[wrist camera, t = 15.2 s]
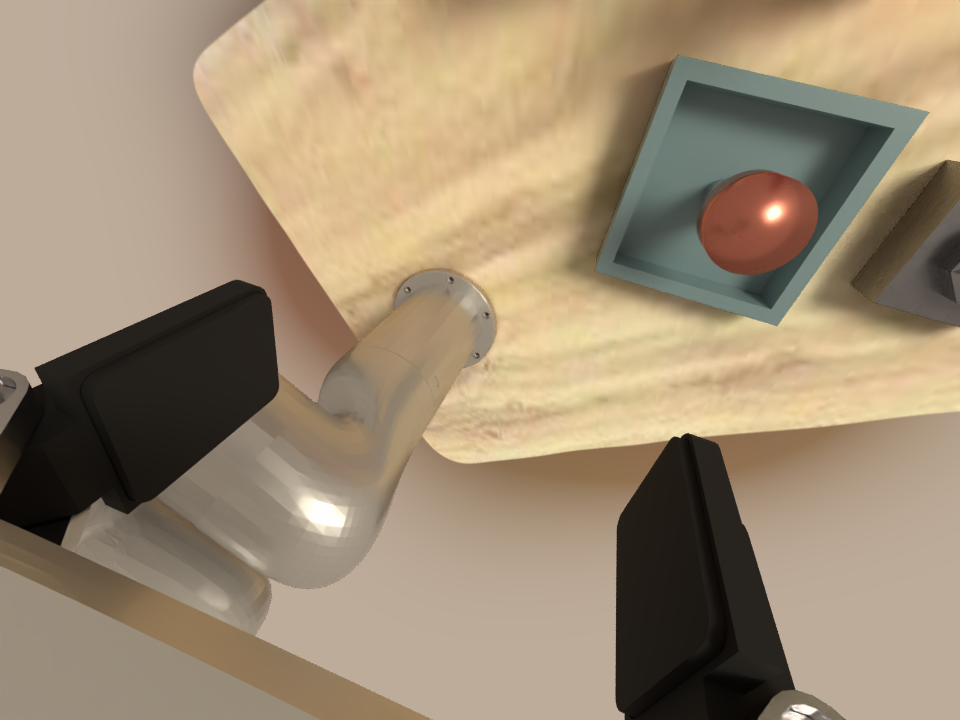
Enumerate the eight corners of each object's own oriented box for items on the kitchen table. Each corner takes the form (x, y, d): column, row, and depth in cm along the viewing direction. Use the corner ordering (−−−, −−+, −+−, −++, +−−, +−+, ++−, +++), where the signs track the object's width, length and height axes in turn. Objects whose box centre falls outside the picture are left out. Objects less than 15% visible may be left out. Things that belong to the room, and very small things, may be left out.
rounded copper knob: (780, 169, 32) (843, 191, 23) (738, 242, 36) (778, 286, 27) (704, 149, 33) (735, 163, 24) (669, 223, 36) (686, 259, 27)
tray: (763, 307, 38) (777, 326, 35) (596, 258, 40) (594, 271, 37) (895, 111, 29) (929, 111, 26) (672, 60, 31) (678, 55, 28)
